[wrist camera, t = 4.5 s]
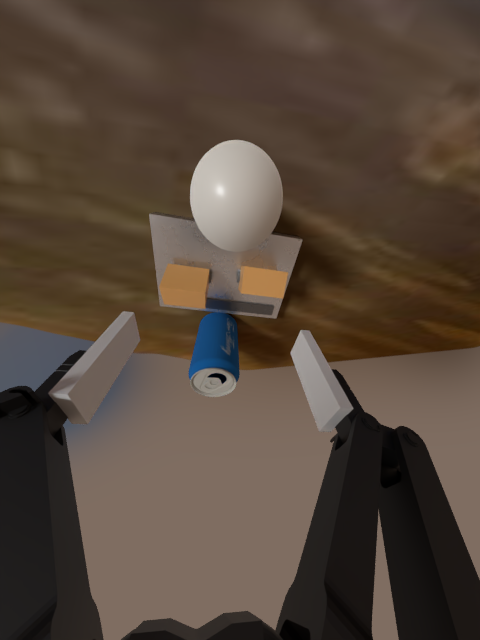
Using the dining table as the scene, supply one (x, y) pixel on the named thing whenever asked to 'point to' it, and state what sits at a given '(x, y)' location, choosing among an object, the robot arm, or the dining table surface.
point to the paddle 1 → (185, 286)
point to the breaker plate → (221, 263)
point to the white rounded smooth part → (236, 195)
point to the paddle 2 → (262, 282)
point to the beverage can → (215, 356)
